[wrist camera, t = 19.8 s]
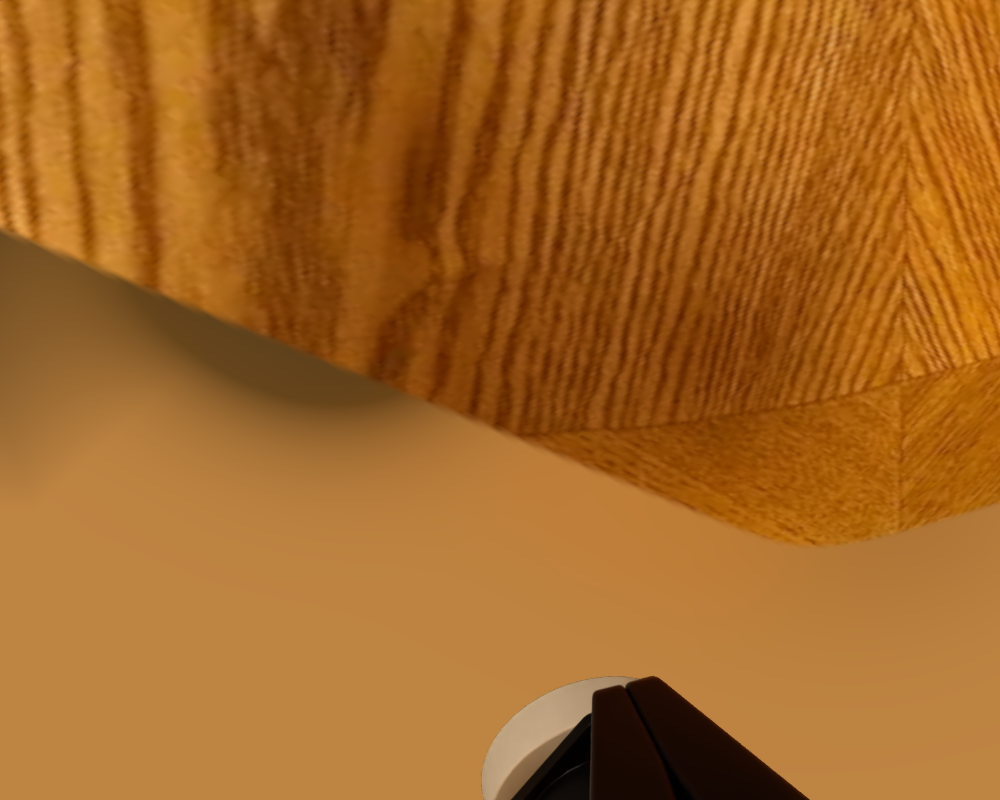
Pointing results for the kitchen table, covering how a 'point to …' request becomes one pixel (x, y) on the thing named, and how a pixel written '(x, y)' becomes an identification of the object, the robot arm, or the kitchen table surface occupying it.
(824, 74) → the kitchen table surface
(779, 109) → the kitchen table surface
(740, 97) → the kitchen table surface
